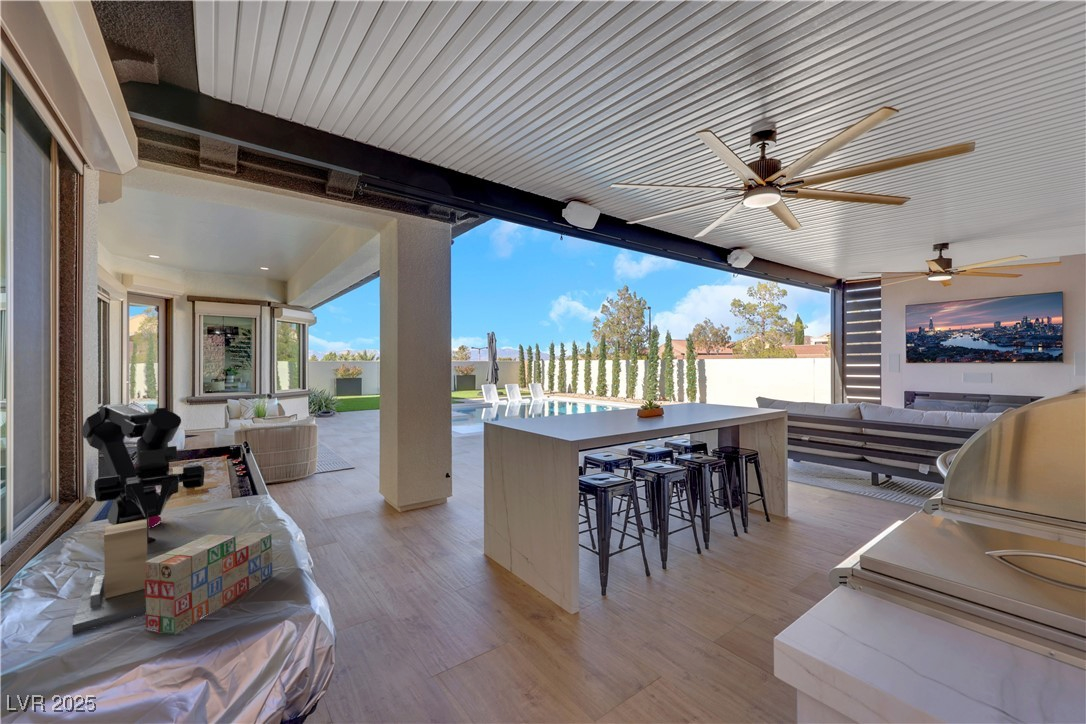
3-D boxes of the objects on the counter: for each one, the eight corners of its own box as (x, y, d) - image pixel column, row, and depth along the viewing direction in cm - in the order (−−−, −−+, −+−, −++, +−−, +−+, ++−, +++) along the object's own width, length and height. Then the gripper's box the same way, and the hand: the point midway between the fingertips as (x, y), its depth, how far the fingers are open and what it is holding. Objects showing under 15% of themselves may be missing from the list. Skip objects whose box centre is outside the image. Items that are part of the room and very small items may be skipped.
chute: (87, 584, 94) (87, 568, 94) (169, 566, 103) (168, 550, 103) (72, 633, 78) (72, 613, 78) (171, 606, 86) (170, 588, 86)
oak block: (107, 586, 91) (106, 526, 90) (147, 577, 94) (146, 519, 94) (104, 598, 86) (104, 535, 86) (147, 588, 90) (146, 527, 90)
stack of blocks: (248, 574, 99) (247, 517, 99) (273, 576, 98) (272, 519, 98) (144, 631, 78) (144, 560, 78) (174, 636, 77) (174, 563, 77)
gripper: (94, 440, 97) (89, 504, 89) (203, 431, 110) (207, 486, 101) (98, 470, 104) (94, 533, 95) (201, 458, 116) (205, 513, 107)
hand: (152, 515), depth 100 cm, fingers closed
